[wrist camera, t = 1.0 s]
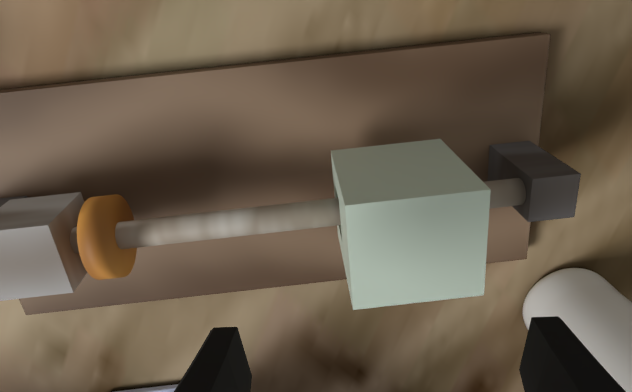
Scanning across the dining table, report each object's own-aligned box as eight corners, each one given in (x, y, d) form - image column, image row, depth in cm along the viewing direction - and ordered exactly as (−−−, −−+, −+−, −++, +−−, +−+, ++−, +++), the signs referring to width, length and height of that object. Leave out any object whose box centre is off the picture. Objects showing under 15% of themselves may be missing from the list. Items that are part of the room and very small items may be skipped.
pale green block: (438, 224, 23) (483, 295, 18) (338, 235, 23) (353, 309, 18) (440, 138, 21) (490, 189, 16) (330, 150, 21) (344, 205, 16)
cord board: (518, 249, 27) (580, 320, 21) (34, 303, 27) (-34, 390, 21) (539, 32, 22) (627, 48, 16) (-54, 95, 22) (-175, 135, 16)
